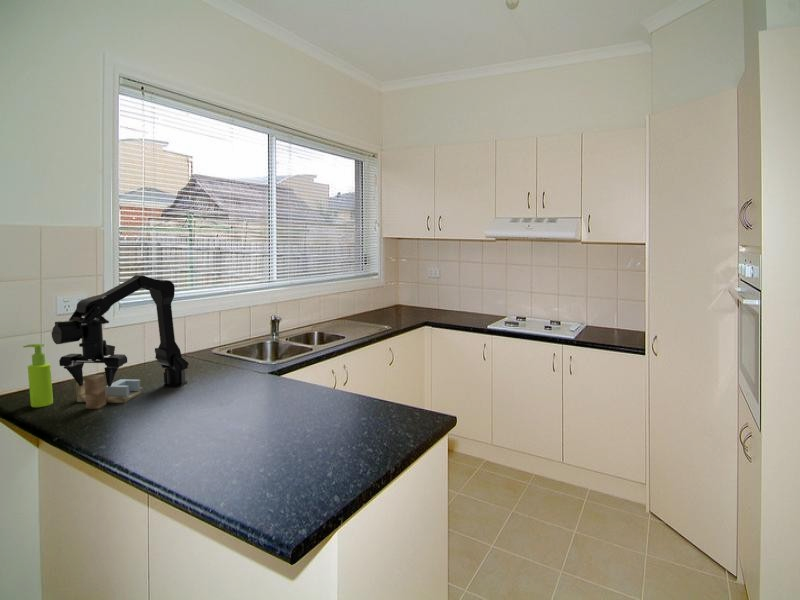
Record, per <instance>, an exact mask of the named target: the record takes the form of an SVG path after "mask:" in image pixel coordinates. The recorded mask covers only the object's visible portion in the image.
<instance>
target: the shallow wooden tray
mask: <svg viewBox="0 0 800 600" xmlns="http://www.w3.org/2000/svg"><path fill="white" fill-rule="evenodd" d="M75 389H76V391H75V392H76V402H77V403H86V398H85V382H84V380H83V386H79V385H78V383H76V384H75ZM143 389H144V388H143V387H142V386H141V390H139V391H129V397H127V398H126V397H118V396H106V403H116V404H117V403H121V404H122V403H123V404H124V403H125V404H126V402H128V401H131V400H132V399H135V397H137V396H138V395H141V394H142V393H143V391H144V390H143ZM105 391H106V390H105Z"/></svg>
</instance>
